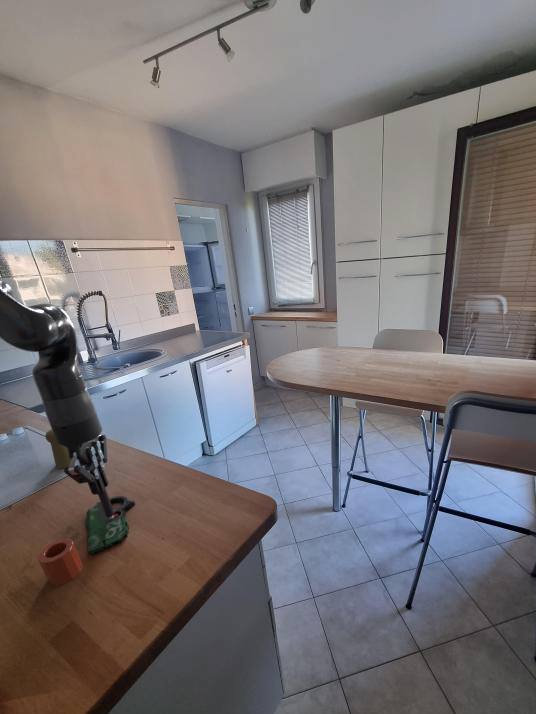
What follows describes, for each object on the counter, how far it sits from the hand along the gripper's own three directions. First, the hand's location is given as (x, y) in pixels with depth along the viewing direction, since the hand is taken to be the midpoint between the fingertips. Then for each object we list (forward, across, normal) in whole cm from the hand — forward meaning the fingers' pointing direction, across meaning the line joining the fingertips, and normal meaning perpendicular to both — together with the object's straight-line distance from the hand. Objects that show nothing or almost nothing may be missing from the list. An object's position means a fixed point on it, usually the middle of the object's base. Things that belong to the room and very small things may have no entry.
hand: (100, 489), depth 69 cm
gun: (+9, 0, 0) cm, 9 cm away
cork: (+9, -30, -23) cm, 39 cm away
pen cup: (+9, +12, -4) cm, 16 cm away
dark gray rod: (+8, 0, 0) cm, 8 cm away
